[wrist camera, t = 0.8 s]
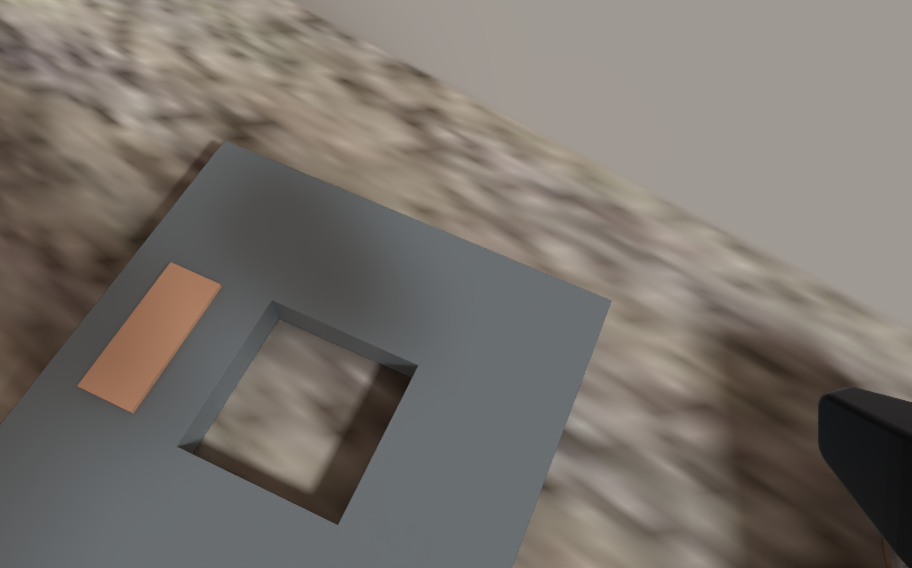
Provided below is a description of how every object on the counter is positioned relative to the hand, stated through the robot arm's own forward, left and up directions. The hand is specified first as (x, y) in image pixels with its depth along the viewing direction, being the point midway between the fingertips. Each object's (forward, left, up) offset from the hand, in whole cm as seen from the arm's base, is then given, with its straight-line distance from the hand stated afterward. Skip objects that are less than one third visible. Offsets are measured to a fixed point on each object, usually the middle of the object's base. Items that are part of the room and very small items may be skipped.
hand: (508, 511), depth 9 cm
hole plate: (+3, +7, -14) cm, 16 cm away
